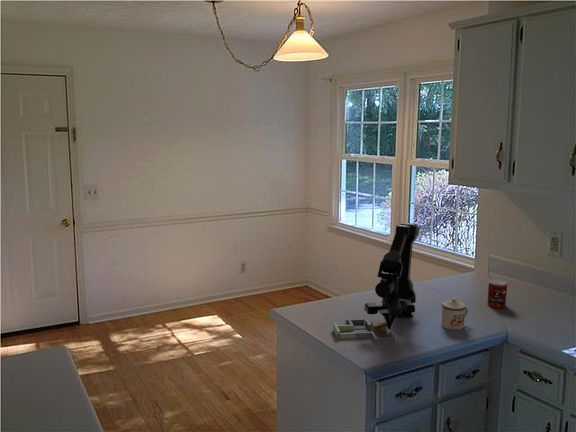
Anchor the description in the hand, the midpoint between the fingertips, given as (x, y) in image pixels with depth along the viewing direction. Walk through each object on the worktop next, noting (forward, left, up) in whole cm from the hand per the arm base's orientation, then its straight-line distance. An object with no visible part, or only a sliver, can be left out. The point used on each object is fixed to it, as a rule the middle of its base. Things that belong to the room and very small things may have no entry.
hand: (388, 328), depth 211 cm
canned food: (-57, -25, -2) cm, 62 cm away
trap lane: (+11, 0, -2) cm, 11 cm away
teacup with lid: (-29, -4, -2) cm, 29 cm away
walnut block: (+4, 0, -2) cm, 4 cm away
